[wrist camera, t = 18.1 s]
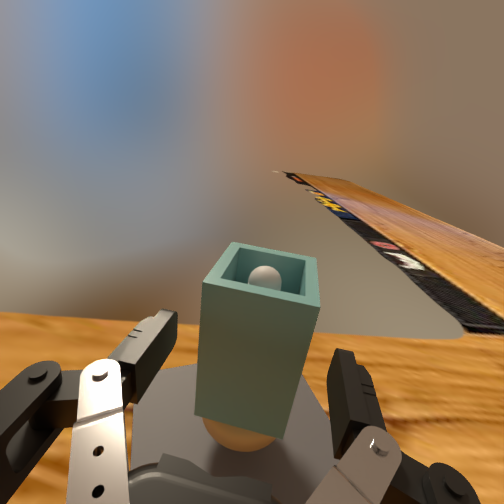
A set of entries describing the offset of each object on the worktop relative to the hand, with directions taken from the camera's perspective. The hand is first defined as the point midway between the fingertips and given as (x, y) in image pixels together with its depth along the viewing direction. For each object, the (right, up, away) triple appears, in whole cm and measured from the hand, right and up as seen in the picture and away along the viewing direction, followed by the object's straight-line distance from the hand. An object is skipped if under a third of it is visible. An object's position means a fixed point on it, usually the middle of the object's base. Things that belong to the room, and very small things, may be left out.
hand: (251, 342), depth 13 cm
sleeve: (0, -6, +6) cm, 8 cm away
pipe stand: (-1, -11, +9) cm, 14 cm away
